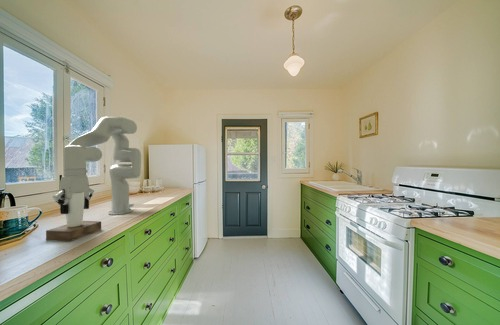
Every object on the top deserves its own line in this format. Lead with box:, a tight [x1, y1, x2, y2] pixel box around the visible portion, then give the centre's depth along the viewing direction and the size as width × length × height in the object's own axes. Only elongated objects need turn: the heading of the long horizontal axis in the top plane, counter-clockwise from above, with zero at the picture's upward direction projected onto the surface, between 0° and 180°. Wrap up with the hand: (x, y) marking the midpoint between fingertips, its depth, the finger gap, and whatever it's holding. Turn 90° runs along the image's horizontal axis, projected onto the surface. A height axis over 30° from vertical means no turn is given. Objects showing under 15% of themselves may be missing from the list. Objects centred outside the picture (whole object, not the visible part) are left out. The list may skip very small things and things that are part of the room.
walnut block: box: [45, 220, 102, 242], centre depth 87 cm, size 14×12×4 cm
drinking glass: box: [64, 192, 85, 228], centre depth 87 cm, size 7×7×15 cm
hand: (75, 211), depth 87 cm, fingers open, 8 cm apart
